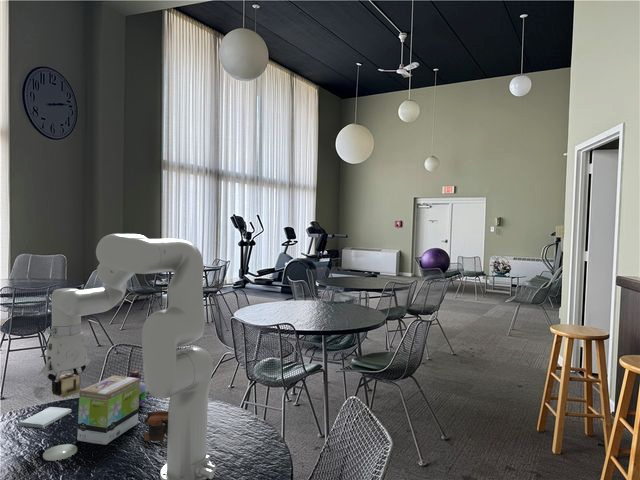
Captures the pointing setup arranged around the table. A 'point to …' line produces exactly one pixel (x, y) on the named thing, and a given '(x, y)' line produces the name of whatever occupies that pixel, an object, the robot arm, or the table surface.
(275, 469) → the table surface
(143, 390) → the potion bottle
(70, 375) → the letter cube
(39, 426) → the hard drive
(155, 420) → the pottery mug
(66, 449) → the pale green disc
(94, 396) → the tea box
